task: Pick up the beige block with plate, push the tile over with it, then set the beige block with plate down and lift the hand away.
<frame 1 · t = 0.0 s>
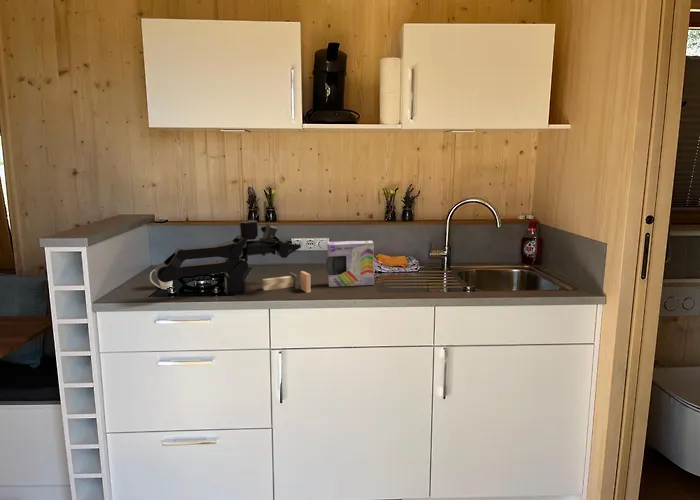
hand: (296, 244, 198), 17 cm above the countertop, tool horizontal, fingers open, 9 cm apart
beige block with plate: (285, 287, 198), on the countertop
tile: (305, 290, 193), on the countertop
cake pan box: (349, 285, 201), on the countertop
cup: (163, 288, 197), on the countertop
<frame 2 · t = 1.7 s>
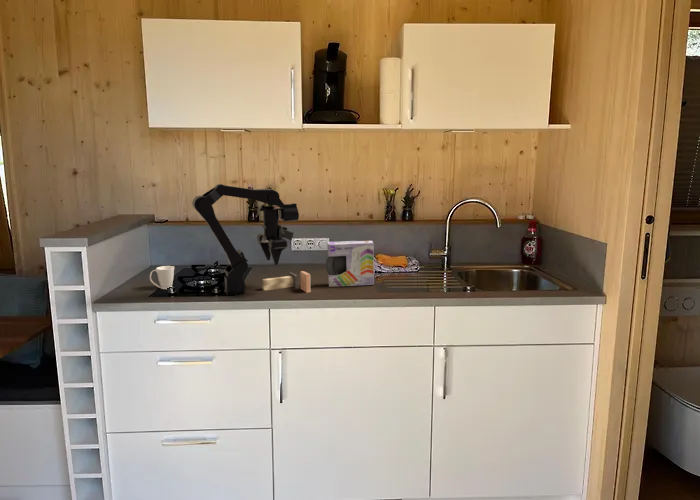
hand: (272, 262, 193), 10 cm above the countertop, tool pointing down, fingers open, 9 cm apart
nothing on the countertop moved.
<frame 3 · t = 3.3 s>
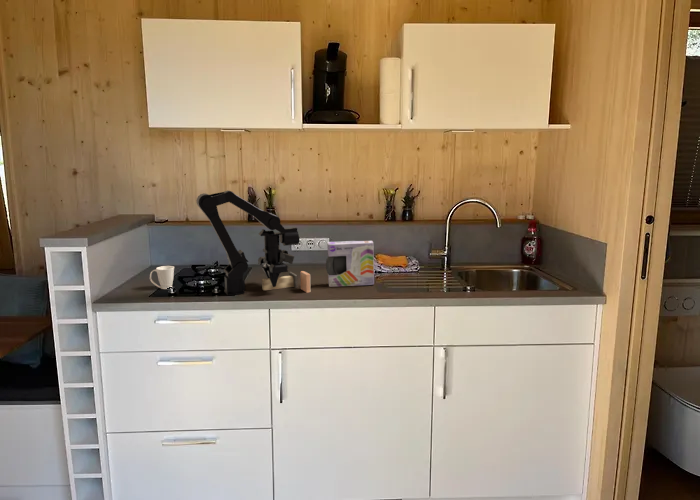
hand: (273, 285, 195), 1 cm above the countertop, tool pointing down, fingers closed on beige block with plate, 2 cm apart
beige block with plate: (285, 286, 198), on the countertop, touching gripper
everything else where it was.
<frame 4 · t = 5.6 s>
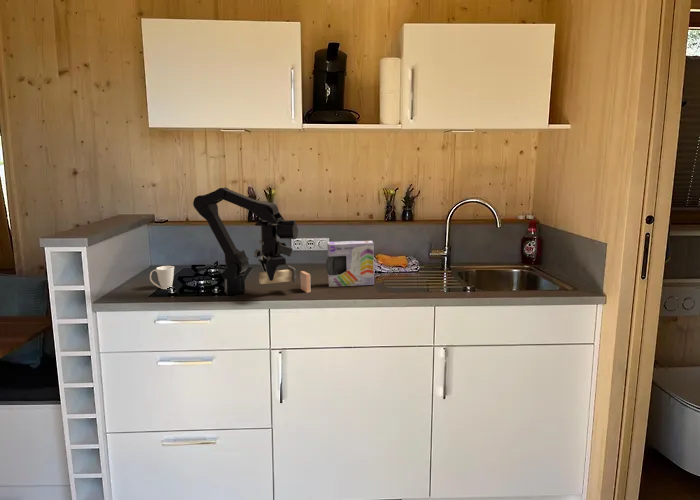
hand: (270, 279, 185), 6 cm above the countertop, tool pointing down, fingers closed on beige block with plate, 2 cm apart
beige block with plate: (283, 281, 188), point 5 cm above the countertop, touching gripper
everything else where it was.
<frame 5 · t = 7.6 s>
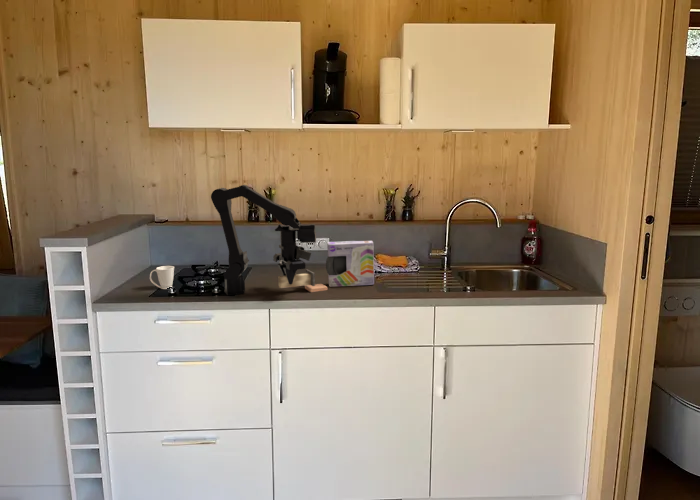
hand: (289, 283, 189), 4 cm above the countertop, tool pointing down, fingers closed on beige block with plate, 2 cm apart
beige block with plate: (302, 284, 191), point 2 cm above the countertop, touching gripper
tile: (307, 289, 193), on the countertop, tilted 90°
everything else where it was.
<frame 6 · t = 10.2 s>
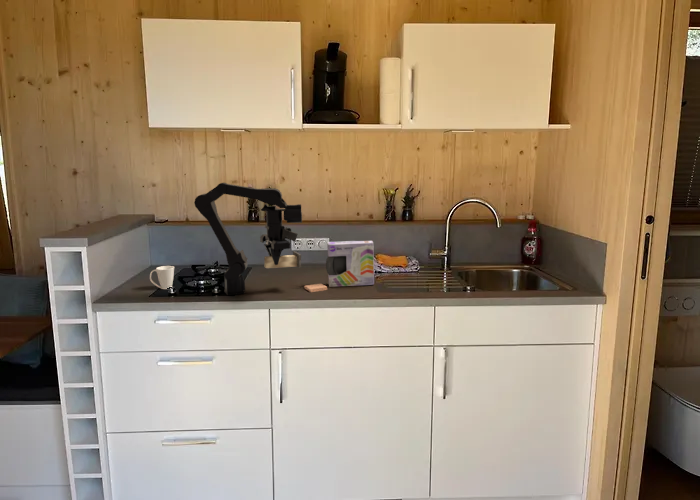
hand: (275, 264, 189), 11 cm above the countertop, tool pointing down, fingers closed on beige block with plate, 2 cm apart
beige block with plate: (288, 266, 191), point 10 cm above the countertop, touching gripper
everything else where it was.
when the fingers open (2 cm above the countertop, at t = 12.4 s): beige block with plate stays where it is, on the countertop.
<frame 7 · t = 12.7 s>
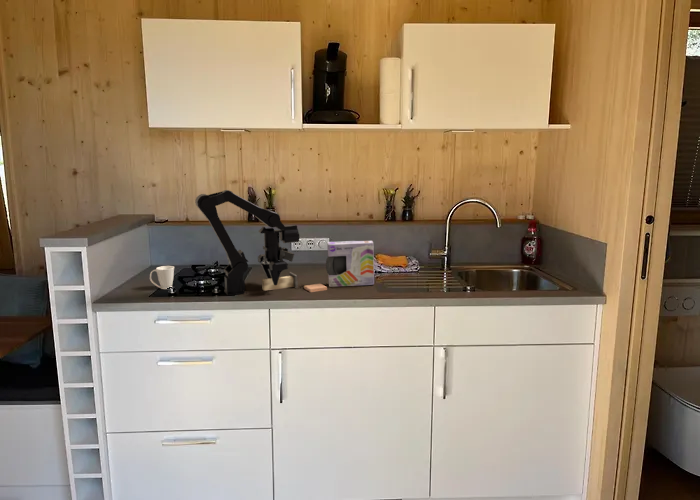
hand: (273, 283, 195), 2 cm above the countertop, tool pointing down, fingers open, 6 cm apart
beige block with plate: (285, 287, 198), on the countertop
everything else where it was.
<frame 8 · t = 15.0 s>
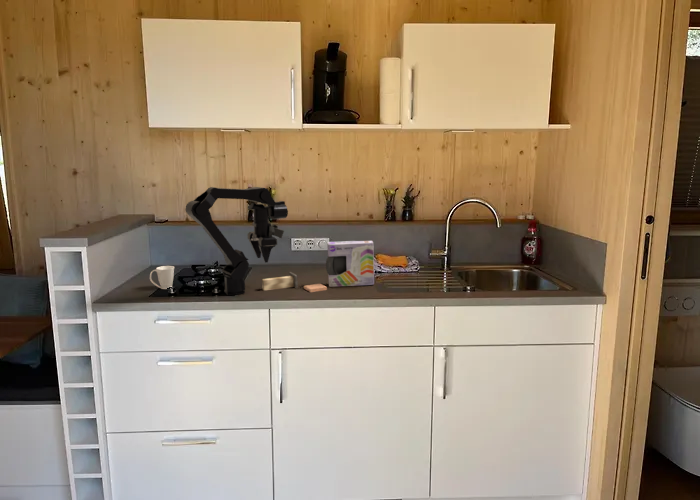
hand: (262, 260, 195), 11 cm above the countertop, tool pointing down, fingers open, 9 cm apart
nothing on the countertop moved.
at the end: tile tilted 90°; the gripper is holding nothing; beige block with plate on the countertop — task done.
